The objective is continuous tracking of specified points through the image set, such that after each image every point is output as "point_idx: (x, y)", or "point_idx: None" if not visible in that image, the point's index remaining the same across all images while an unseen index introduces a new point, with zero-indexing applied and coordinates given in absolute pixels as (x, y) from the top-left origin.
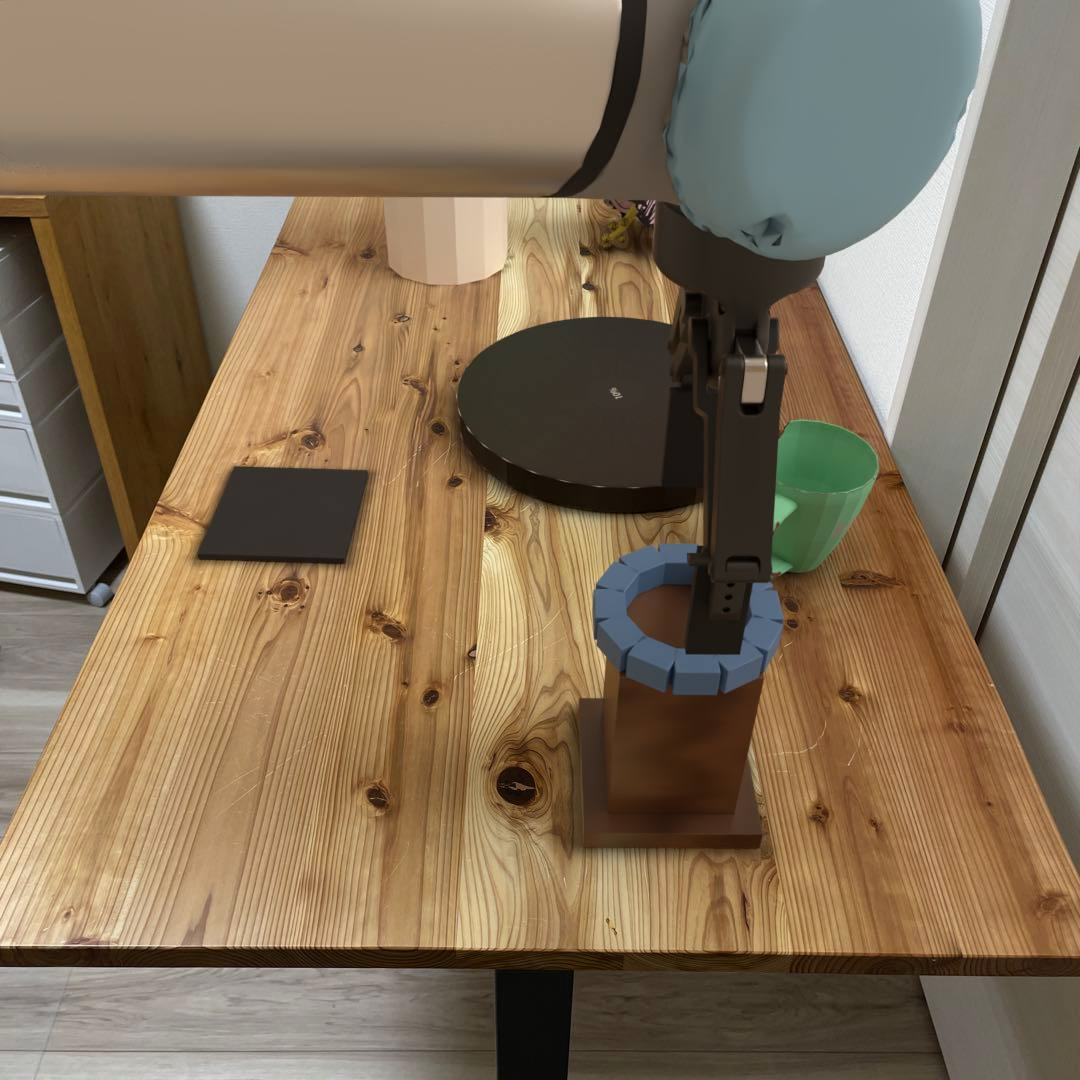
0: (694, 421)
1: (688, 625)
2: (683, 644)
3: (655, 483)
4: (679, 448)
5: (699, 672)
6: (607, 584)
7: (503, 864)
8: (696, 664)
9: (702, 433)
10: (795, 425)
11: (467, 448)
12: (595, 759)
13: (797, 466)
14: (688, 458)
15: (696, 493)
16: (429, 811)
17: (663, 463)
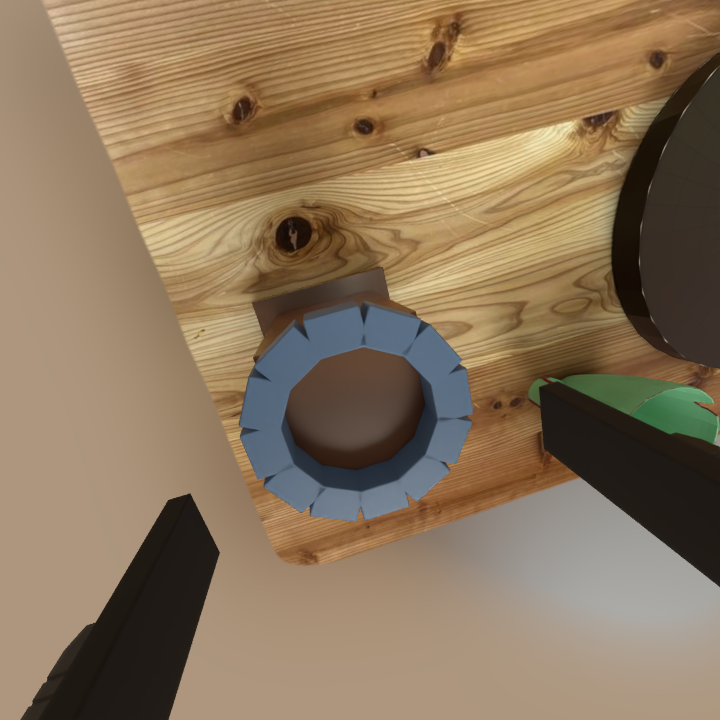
0: (668, 507)
1: (152, 538)
2: (327, 412)
3: (645, 281)
4: (604, 445)
5: (250, 459)
6: (371, 322)
7: (218, 243)
8: (261, 454)
9: (637, 502)
10: (711, 419)
11: (711, 58)
12: (323, 295)
13: (659, 409)
14: (585, 449)
15: (635, 316)
16: (244, 165)
17: (577, 401)
